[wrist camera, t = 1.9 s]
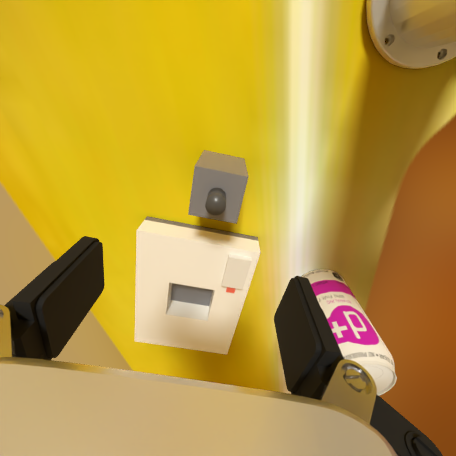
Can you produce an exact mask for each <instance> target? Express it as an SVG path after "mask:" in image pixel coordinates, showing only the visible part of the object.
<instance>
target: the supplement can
mask: <svg viewBox="0 0 456 456" xmlns="http://www.w3.org/2000/svg"><path fill="white" fill-rule="evenodd" d="M302 277H305V278H308V279H309V281H310V284H311V286H312V288H313V291H314V293H315V295H316V298H317V300H318V302H319V305H320V307H321V308H322V310H323V311H324V314H325V316H326V318H327V321H328V323H329V325H330V327H331V330H332V332H333V334H334V337H335V339H336V341H337V343H338V346H339V348H340V350H341V353H342V355H343V357H344V359H349V360H352V361H355V362H357V363H358V364H360V365H361V366H362V367H364V368H365V369H366V370H367V371H368V372H369V374H370V375H371V376H372V378H373V380H374V381H375V384H376V387H377V395H378V396H380V395H382V394H384V393H386V392H387V391H389V390H390V389H391V388H392V387H393V386H394V385H395V382H396V379H397V377H396V374H395V365H394V360H393V357H392V355H391V353H390V352H389V350H388V349H387V347H386V345H385V344H384V342H383V341H382V339H381V338H380V336H379V335H378V333H377V331H376V330H375V328H374V327H373V325H372V324H371V322H370V320H369V319H368V317H367V315H366V314H365V312H364V311H363V309H362V307H361V306H360V304H359V303H358V301H357V299H356V298H355V296H354V295H353V293H352V292H351V290H350V288H349V287H348V285H347V284H346V282H345V280H344V279H343V277H342V276H341V275H339V274H338V273H337V272H334V271H331V270H325V269H319V270H314V271H310V272H308V273H306V274H304V275H303V276H302Z"/></svg>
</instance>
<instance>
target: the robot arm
mask: <svg viewBox="0 0 456 456" xmlns="http://www.w3.org/2000/svg"><path fill="white" fill-rule="evenodd" d="M366 12H367V24H368V29H369V33H370V37H371V39H372V41H373V44H374V46H375V48H376V49H377V50H378V52H379V53H380V54H381V56H382V57H384V58H385V59H386V60H387V61H389V62H390V63H392V64H394V65H396V66H399V67H401V68H409V69H417V68H426V67H430V66H435V65H439V64H441V63H444V62H446V61H449V60H451V59H453V58H454V57H456V0H367V3H366ZM385 39H386V44H385ZM103 289H104V268H103V247H102V243H101V242H99V240H98V239H97V238H92V237H86V236H84V237H82V238H81V239H80V240H79V241H78V242H77V243H76V244H74V245H73V246H72V247H71V248H70V249H69V250H68V251H67V252H66V253H64V254H63V255H62V256H61V257H60V258H59V259H58V260H57V261H55V262H53V263H52V264H51V265H50V266H48V267H47V268H46V269H45V270H44V271H43V272H42V273H41V274H40V275H38V276H37V277H36V278H35V279H34V280H33V281H31V282H30V283H29V284H28V285H27V286H26V287H25V288H24V289H22V290H21V291H20V292H19V293H18V294H17V295H16V296H15V297H14V298H12V299H11V300H10V301H9V302H8V303H7V304H6V305H0V456H442V454H441V452H440V451H439V450H438V448H437V447H436V446H435V444H434V443H433V442H432V441H431V440H430V439H429V438H428V437H427V436H426V435H424V434H423V433H422V432H421V431H420V430H418V429H417V428H416V427H415V426H414V425H413V424H411V423H410V422H409V421H408V420H407V419H405V418H404V417H403V416H402V415H401V414H399V413H398V412H397V411H396V410H395V409H394V408H392V407H391V406H390V405H389V404H387V403H386V402H385V401H384V400H383V399H382V398H381V397H379V396H378V395H377V387H376V384H375V381H374V380H373V378H372V376H371V375H370V374H369V372H368V371H367V370H366V369H365V368H364V367H362V366H361V365H360V364H358V363H357V362H355V361H352V360H349V359H344V357H343V355H342V353H341V350H340V348H339V346H338V343H337V341H336V339H335V337H334V334H333V332H332V330H331V327H330V325H329V323H328V321H327V318H326V316H325V314H324V311H323V310H322V308H321V307H320V305H319V302H318V300H317V298H316V295H315V293H314V291H313V288H312V286H311V284H310V281H309V279H308V278H305V277H299V276H296V277H295V278H292V279H291V280H290V282H289V284H288V286H287V289H286V291H285V293H284V295H283V297H282V300H281V302H280V304H279V306H278V309H277V311H276V313H275V316H274V322H275V327H276V333H277V338H278V343H279V348H280V354H281V359H282V364H283V369H284V375H285V380H286V385H287V389H288V391H291V394H286V393H280V392H274V391H268V390H261V389H255V388H248V387H241V386H234V385H227V384H221V383H214V382H207V381H200V380H193V379H186V378H179V377H172V376H165V375H158V374H151V373H143V372H136V371H129V370H121V369H113V368H107V367H99V366H92V365H85V364H77V363H68V362H59V361H52V360H51V359H52V358H56V357H57V356H58V355H59V354H60V352H61V351H62V349H63V348H64V346H65V345H66V344H67V342H68V341H69V339H70V338H71V336H72V335H73V333H74V332H75V331H76V329H77V327H78V326H79V325H80V323H81V322H82V320H83V319H84V317H85V316H86V315H87V313H88V311H89V310H90V309H91V307H92V306H93V304H94V303H95V302H96V300H97V299H98V297H99V296H100V294H101V293H102V291H103Z"/></svg>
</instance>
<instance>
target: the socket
mask: <svg viewBox="0 0 456 456" xmlns="http://www.w3.org/2000/svg"><path fill="white" fill-rule="evenodd" d="M259 256H260V248H259V242H258V237H254V236H248V235H243V234H238V233H232V232H227V231H222V230H216V229H211V228H206V227H200V226H195V225H190V224H184V223H179V222H174V221H168V220H163V219H158V218H152V217H146V219H145V220H144V221H143V223H142V224H141V225H140V227H139V228H138V229H137V244H136V297H135V341H137V342H144V343H151V344H158V345H165V346H171V347H178V348H185V349H192V350H199V351H206V352H213V353H220V354H227V353H228V350H229V347H230V344H231V341H232V338H233V335H234V332H235V329H236V326H237V323H238V320H239V317H240V313H241V310H242V307H243V304H244V301H245V298H246V295H247V292H248V289H249V286H250V283H251V280H252V277H253V274H254V271H255V268H256V265H257V262H258V259H259Z"/></svg>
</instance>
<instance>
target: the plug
mask: <svg viewBox="0 0 456 456" xmlns="http://www.w3.org/2000/svg"><path fill="white" fill-rule="evenodd" d="M247 180H248V173H247V169H246V164H245V160H244V159H243V158H238V157H234V156H229V155H224V154H220V153H215V152H211V151H206V150H204V152H203V153H202V155H201V157H200V158H199V160H198V162H197V163H196V165H195V169H194V177H193V184H192V191H191V199H190V206H189V213H188V214H189V215H194V216H199V217H204V218H210V219H215V220H220V221H225V222H231V223H236V224H237V220H238V216H239V212H240V208H241V204H242V200H243V196H244V192H245V188H246V184H247Z"/></svg>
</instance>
